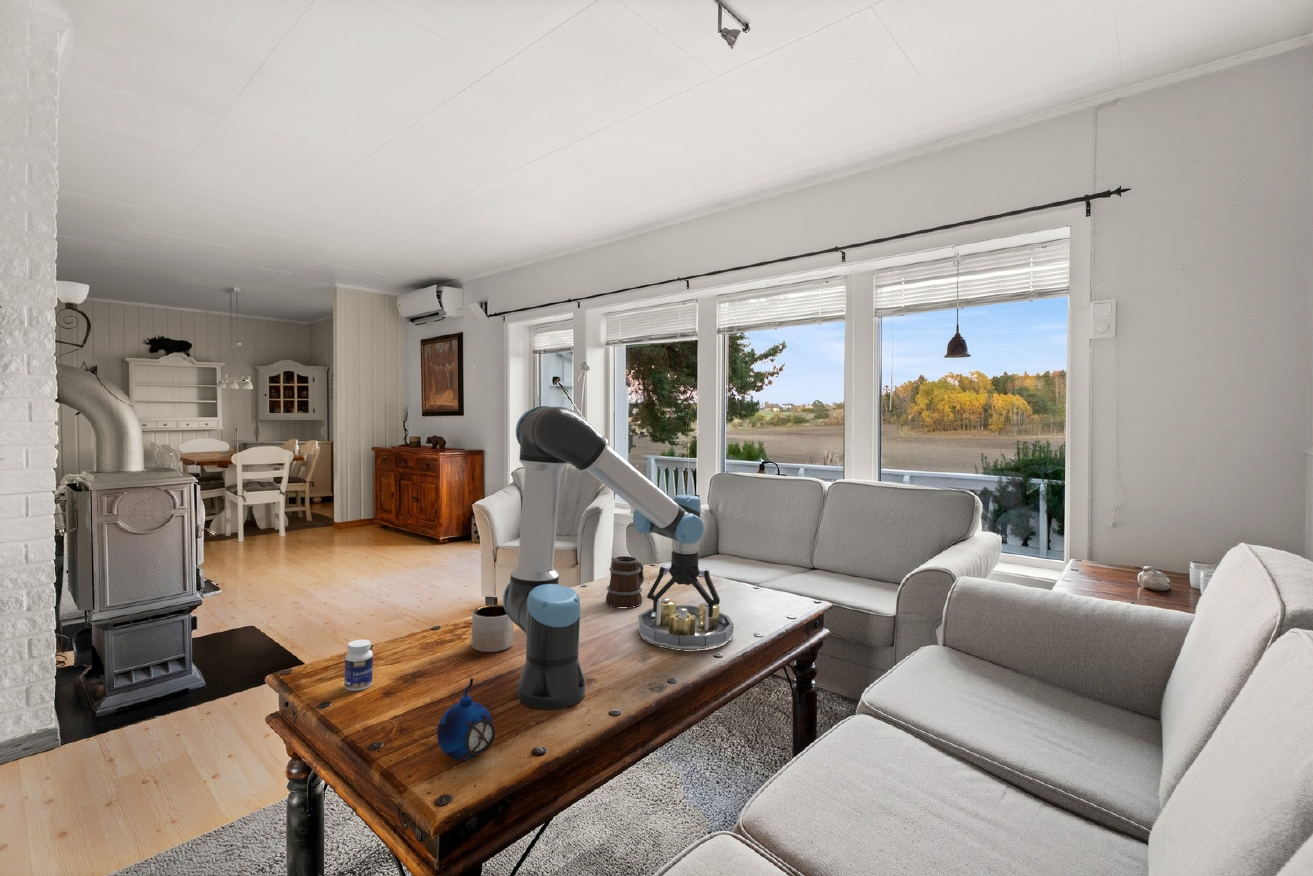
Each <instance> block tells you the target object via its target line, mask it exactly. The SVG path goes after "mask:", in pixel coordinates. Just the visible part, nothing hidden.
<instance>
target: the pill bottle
mask: <svg viewBox="0 0 1313 876" xmlns="http://www.w3.org/2000/svg"><path fill="white" fill-rule="evenodd" d="M371 645H372V642H371V641H370V640H368V639H355V640H352V641H350V642H348V644H347V651H348V652H347V653H346V655H345V657H344V681H343V682H344V688H345V690H347V691H349V692H357V691H362V690H365V689H368V688H370V687H371V686H372V685H373V670H374V669H373V668H374V666H373V664H374V652H373V651H372V649H371V647H372V646H371ZM370 649H371V650H370Z"/></svg>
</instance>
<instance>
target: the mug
mask: <svg viewBox="0 0 1313 876" xmlns="http://www.w3.org/2000/svg"><path fill="white" fill-rule="evenodd" d="M644 568H645V567H644V565H643V563H642V562H641V561H639V560H638V559H637V558H636V557H634V556H633V557H632V556H625V555H623V556H616V557H614V558H613V560H612V565H611V566H610V567H609V571H610V572H611V574H610V578H609V579H610V580H609V584H608V586H607V587H606V590H607V594H606V596H605V602H607V603H606V604H607V605H608V604H609V605H612V606H611V607H613V606H615V607H614V608H616V607H628V608H627V609H630V608H629V607H633V606H637V605H639V604H640V605H642V604H641V603H643V597H642V594H641V592H642V591H643V588H642V587H641V586H642V584H643V583H644V580H645V576H644ZM609 605H608V606H609ZM640 605H639V606H640ZM633 608H634V607H633Z"/></svg>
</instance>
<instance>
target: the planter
mask: <svg viewBox="0 0 1313 876" xmlns="http://www.w3.org/2000/svg"><path fill="white" fill-rule="evenodd" d="M471 615H472V617H471V642H470V643H471V648H472V649H474V650H475V651H477V652H480V653H487V654H488V653H489V654H490V653H491V654H492V653H500V652H503V651H506V650H508V649H509V648H511V647H512V645H513V643H514V622H513V621H511V620H510V618H509V617H508V615H507V613H506V611H505V609H504V606H503V604H488V605H482V606H478V607H477V608H475V609H473V610H472V614H471Z"/></svg>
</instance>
